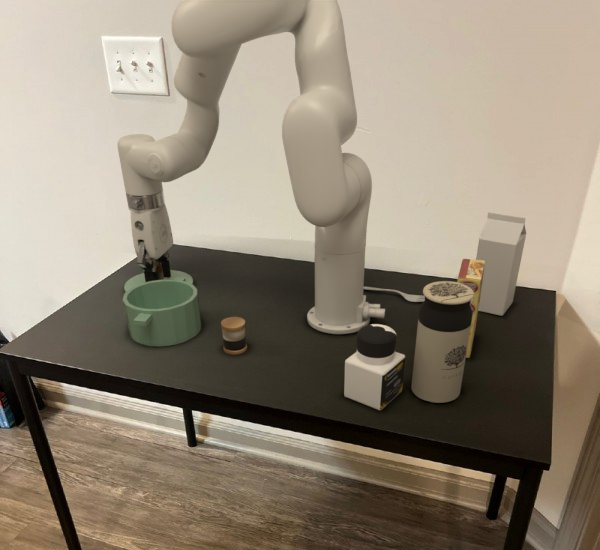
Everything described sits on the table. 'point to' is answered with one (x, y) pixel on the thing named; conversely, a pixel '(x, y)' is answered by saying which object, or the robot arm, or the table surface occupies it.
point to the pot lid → (141, 278)
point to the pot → (162, 312)
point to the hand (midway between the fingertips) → (158, 281)
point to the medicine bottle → (374, 368)
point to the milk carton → (500, 261)
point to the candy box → (473, 278)
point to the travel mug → (442, 341)
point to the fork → (408, 297)
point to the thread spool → (234, 335)
